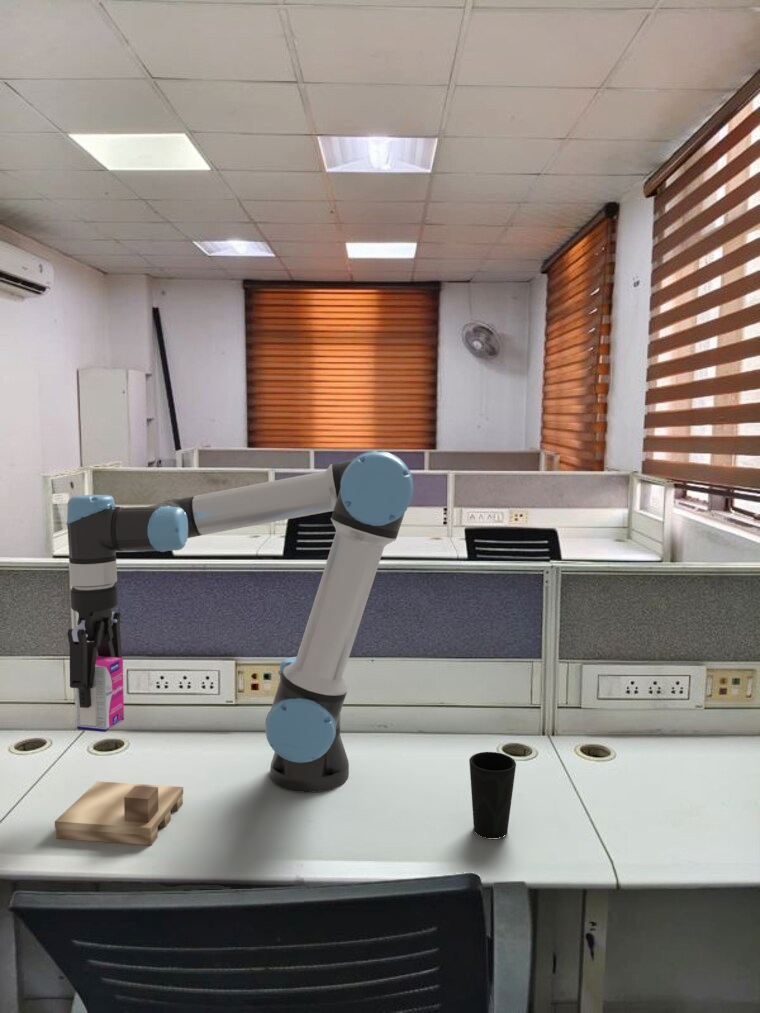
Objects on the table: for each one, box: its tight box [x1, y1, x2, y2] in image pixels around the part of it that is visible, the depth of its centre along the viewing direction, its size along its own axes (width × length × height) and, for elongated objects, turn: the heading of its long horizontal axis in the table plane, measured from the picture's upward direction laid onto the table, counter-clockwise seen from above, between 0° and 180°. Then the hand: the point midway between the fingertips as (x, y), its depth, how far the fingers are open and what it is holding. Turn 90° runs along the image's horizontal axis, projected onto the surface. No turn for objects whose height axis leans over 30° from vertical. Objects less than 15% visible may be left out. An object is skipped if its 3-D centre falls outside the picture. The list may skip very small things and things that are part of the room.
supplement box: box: [75, 655, 125, 733], centre depth 127 cm, size 6×6×12 cm
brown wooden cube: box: [124, 786, 158, 823], centre depth 120 cm, size 4×4×4 cm
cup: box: [469, 751, 517, 839], centre depth 122 cm, size 8×8×12 cm
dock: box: [54, 780, 184, 846], centre depth 124 cm, size 16×14×3 cm
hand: (99, 716), depth 127 cm, fingers closed on supplement box, 6 cm apart
